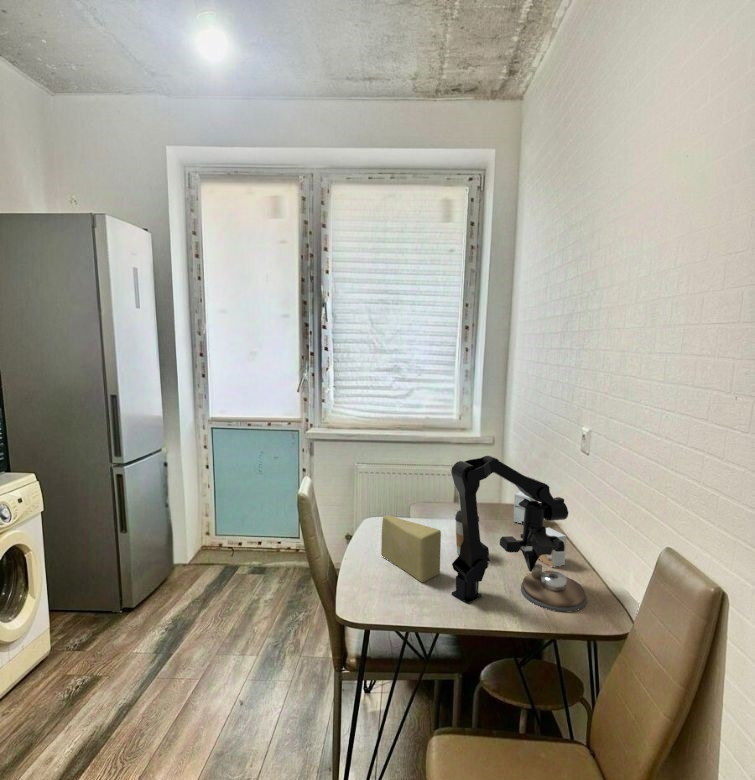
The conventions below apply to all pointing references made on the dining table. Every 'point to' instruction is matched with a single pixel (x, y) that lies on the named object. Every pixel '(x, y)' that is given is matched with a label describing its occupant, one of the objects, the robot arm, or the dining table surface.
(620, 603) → the dining table surface
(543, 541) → the robot arm
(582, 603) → the turntable base
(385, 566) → the dining table surface
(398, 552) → the cheese
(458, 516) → the coffee cup
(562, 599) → the lazy susan
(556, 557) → the small box
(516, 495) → the supplement box
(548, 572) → the cast cover
